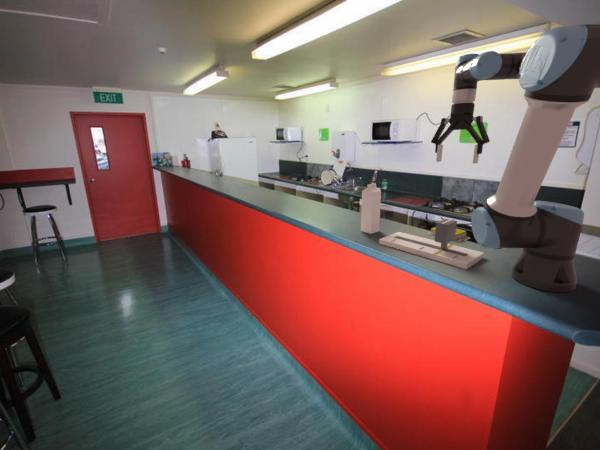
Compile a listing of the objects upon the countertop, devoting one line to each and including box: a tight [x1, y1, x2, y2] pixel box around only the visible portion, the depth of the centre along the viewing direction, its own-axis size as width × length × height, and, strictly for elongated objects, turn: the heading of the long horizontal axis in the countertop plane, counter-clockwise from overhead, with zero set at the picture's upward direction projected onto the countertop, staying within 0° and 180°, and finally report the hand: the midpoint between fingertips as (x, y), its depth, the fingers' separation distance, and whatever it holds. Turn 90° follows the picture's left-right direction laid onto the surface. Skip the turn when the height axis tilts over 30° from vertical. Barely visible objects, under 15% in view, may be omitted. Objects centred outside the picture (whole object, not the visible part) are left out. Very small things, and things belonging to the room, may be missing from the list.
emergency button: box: [427, 226, 471, 243], centre depth 130 cm, size 9×4×15 cm
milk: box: [360, 182, 382, 235], centre depth 136 cm, size 6×6×22 cm
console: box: [378, 231, 485, 270], centre depth 115 cm, size 34×14×2 cm, turn 40°
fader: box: [434, 218, 458, 249], centre depth 108 cm, size 4×7×10 cm, turn 130°
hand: (456, 162), depth 116 cm, fingers open, 13 cm apart
